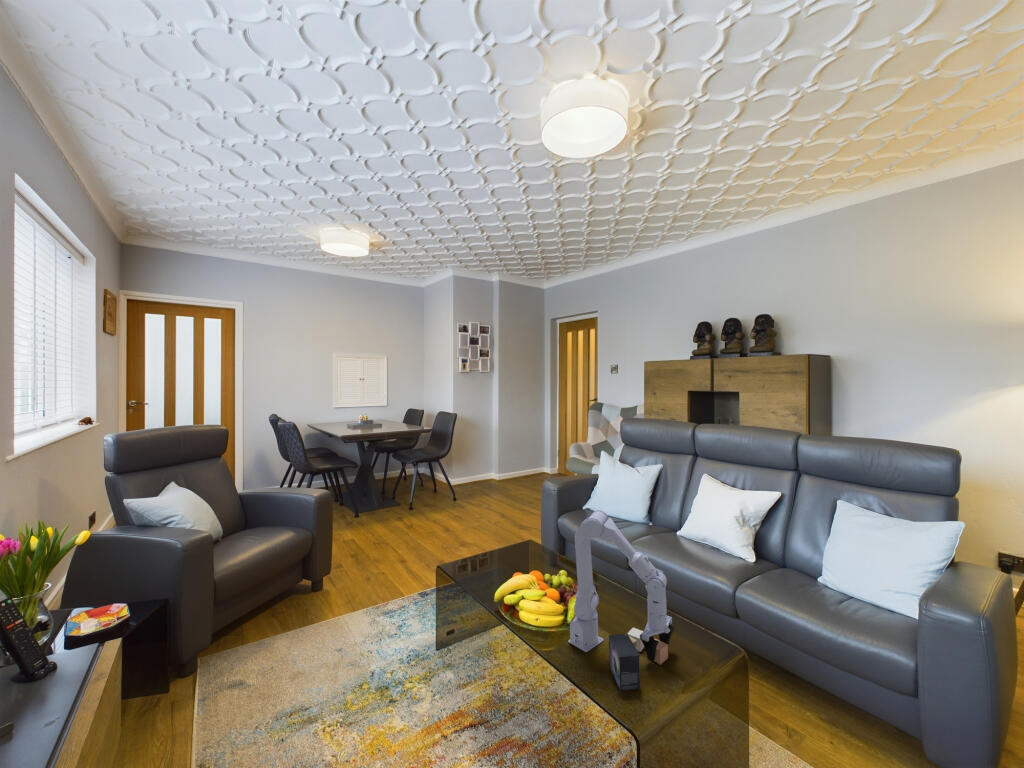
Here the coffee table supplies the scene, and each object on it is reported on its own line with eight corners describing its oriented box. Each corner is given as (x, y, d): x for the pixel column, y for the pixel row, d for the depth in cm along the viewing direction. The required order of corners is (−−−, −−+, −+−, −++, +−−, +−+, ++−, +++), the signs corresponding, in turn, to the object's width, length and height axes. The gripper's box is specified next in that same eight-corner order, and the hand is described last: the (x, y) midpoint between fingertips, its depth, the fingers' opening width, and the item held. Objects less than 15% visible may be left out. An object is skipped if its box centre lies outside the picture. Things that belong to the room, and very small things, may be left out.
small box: (607, 667, 138) (607, 634, 138) (628, 665, 139) (628, 632, 138) (619, 692, 128) (618, 656, 127) (641, 690, 128) (640, 654, 128)
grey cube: (640, 652, 145) (640, 638, 145) (627, 647, 148) (627, 633, 148) (645, 645, 149) (645, 632, 148) (633, 640, 151) (632, 627, 151)
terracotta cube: (660, 664, 139) (660, 650, 139) (647, 658, 142) (647, 644, 142) (668, 658, 142) (667, 644, 142) (655, 651, 145) (655, 638, 145)
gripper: (655, 625, 134) (656, 670, 134) (680, 607, 143) (681, 649, 144) (635, 616, 139) (636, 659, 139) (660, 599, 148) (661, 639, 149)
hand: (657, 653), depth 142 cm, fingers open, 7 cm apart
